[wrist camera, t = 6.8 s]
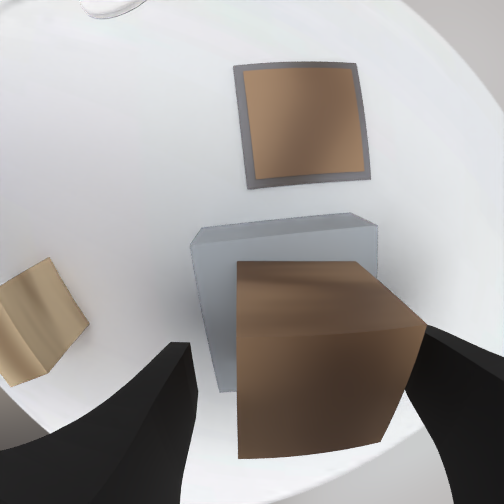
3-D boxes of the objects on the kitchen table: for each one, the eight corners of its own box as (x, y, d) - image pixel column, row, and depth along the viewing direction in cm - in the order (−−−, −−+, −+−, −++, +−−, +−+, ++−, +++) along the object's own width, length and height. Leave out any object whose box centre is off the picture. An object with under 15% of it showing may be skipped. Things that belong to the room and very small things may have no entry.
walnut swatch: (247, 188, 13) (247, 189, 13) (233, 67, 11) (233, 64, 11) (369, 179, 13) (372, 179, 12) (354, 64, 11) (357, 62, 11)
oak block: (49, 343, 15) (10, 387, 10) (13, 286, 14) (-34, 319, 9) (90, 323, 15) (48, 373, 10) (49, 256, 14) (-7, 290, 9)
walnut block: (237, 362, 12) (238, 458, 7) (236, 260, 11) (236, 337, 6) (339, 357, 12) (380, 441, 7) (356, 261, 11) (427, 324, 6)
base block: (223, 350, 16) (219, 392, 12) (202, 226, 14) (189, 245, 10) (346, 335, 16) (367, 371, 12) (347, 211, 14) (377, 225, 10)
